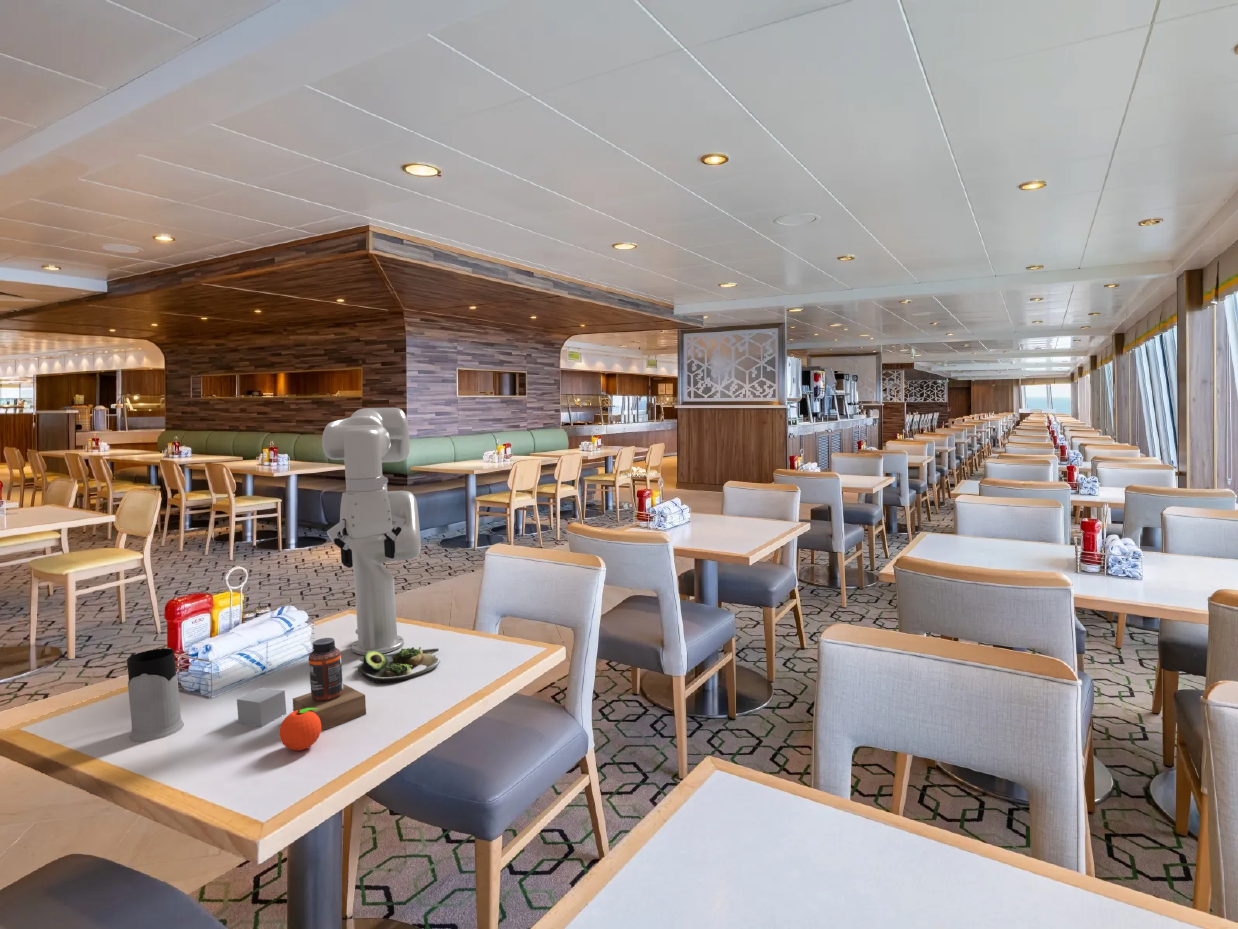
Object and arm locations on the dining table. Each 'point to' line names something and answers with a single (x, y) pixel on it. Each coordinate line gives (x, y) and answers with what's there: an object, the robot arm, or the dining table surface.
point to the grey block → (261, 706)
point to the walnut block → (334, 707)
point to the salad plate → (396, 664)
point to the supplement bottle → (325, 670)
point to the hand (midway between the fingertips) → (369, 561)
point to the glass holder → (153, 695)
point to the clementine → (300, 729)
